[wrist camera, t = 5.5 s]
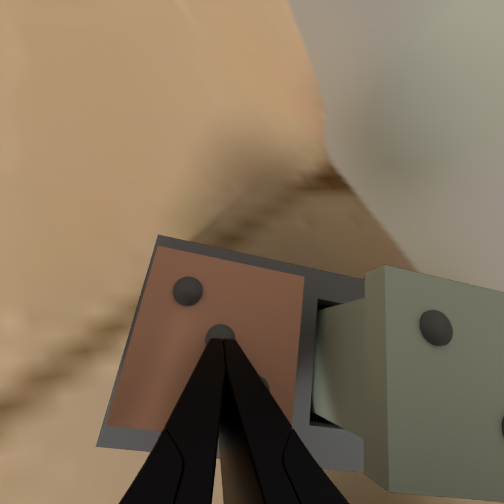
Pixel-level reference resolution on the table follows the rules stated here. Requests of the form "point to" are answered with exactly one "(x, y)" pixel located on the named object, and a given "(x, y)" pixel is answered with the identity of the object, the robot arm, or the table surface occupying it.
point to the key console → (314, 296)
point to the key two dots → (417, 382)
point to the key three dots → (206, 332)
